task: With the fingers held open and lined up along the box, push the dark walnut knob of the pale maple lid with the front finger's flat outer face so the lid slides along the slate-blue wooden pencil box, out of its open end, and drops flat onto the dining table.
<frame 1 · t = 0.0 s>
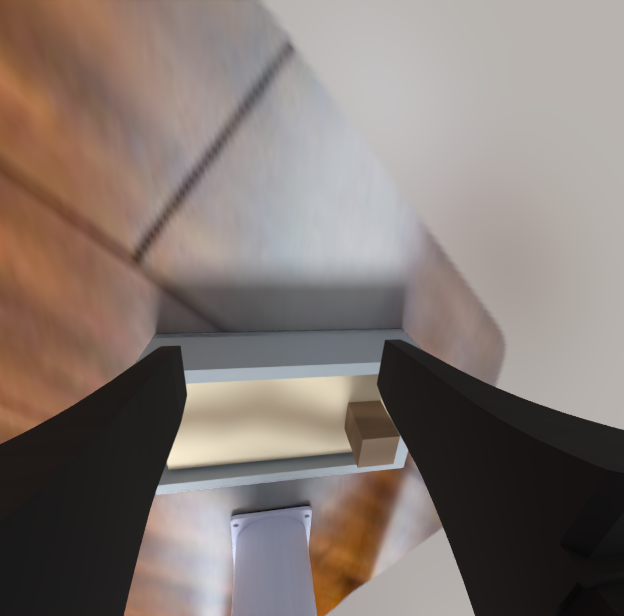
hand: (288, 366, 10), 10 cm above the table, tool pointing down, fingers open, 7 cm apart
cover plate: (285, 413, 20), point 3 cm above the table, touching box
box: (285, 386, 23), on the table
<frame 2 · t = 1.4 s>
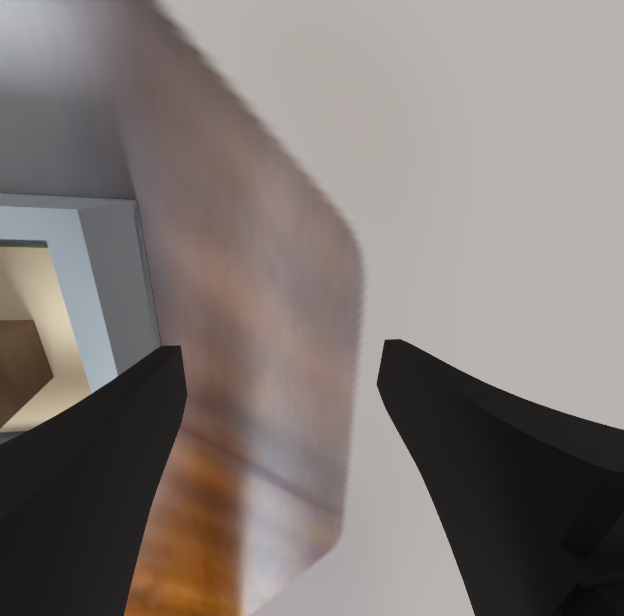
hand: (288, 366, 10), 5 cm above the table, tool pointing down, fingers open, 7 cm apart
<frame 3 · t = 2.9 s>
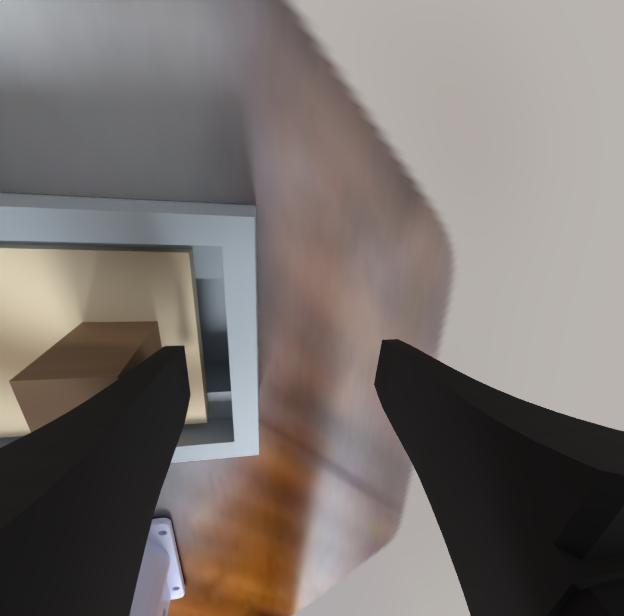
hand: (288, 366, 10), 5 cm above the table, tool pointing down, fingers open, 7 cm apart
box: (55, 311, 13), on the table
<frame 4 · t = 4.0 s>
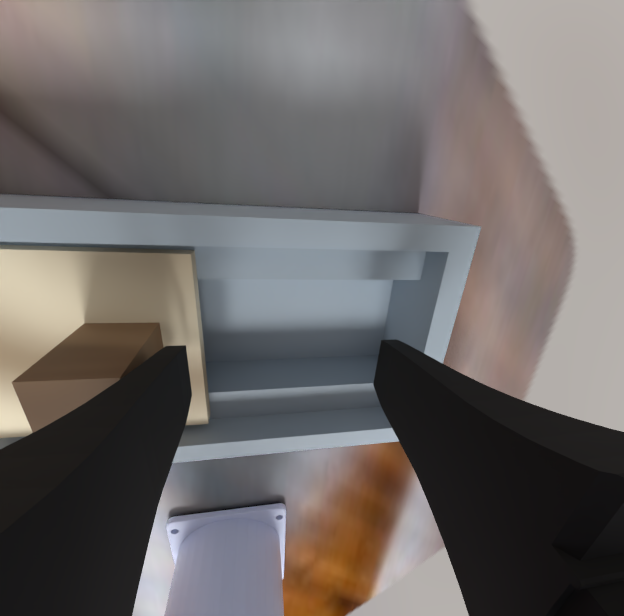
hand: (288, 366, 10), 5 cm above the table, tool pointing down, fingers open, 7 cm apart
box: (232, 310, 14), on the table
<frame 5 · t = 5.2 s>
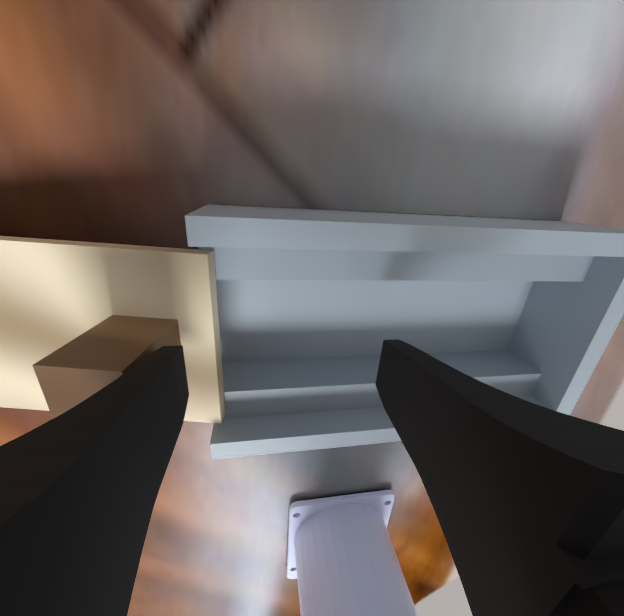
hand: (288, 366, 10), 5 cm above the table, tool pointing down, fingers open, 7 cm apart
cover plate: (23, 328, 12), point 2 cm above the table, tilted 11°
box: (387, 308, 16), on the table
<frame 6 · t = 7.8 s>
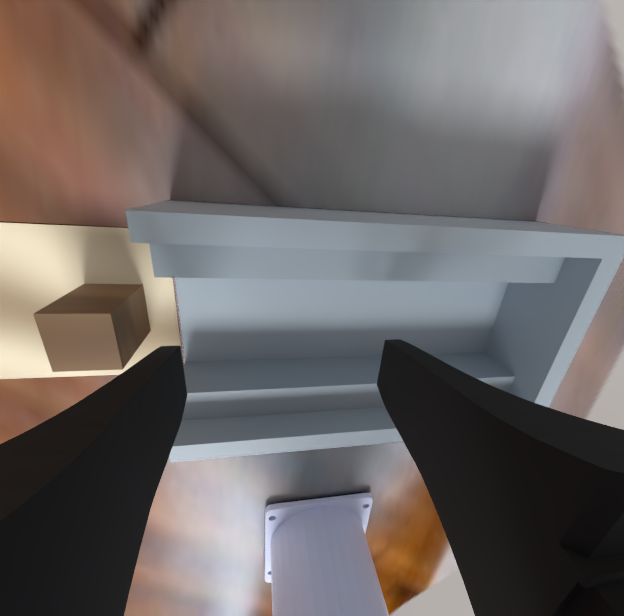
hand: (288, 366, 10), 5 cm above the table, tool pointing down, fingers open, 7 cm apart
box: (360, 309, 16), on the table
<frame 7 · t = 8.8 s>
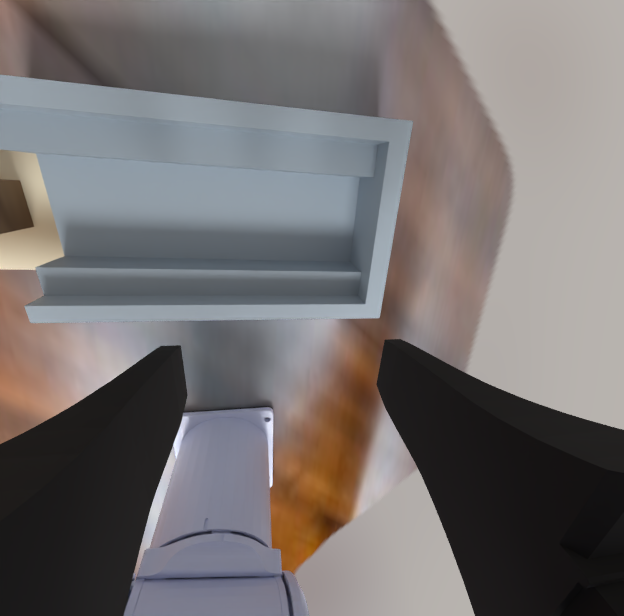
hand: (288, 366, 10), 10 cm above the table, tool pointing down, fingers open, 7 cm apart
box: (225, 214, 18), on the table
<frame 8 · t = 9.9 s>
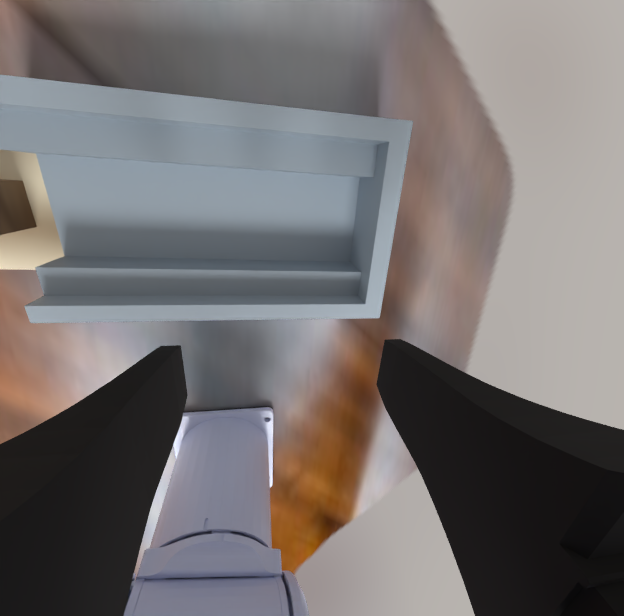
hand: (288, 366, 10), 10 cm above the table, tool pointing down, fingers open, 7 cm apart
box: (225, 214, 18), on the table
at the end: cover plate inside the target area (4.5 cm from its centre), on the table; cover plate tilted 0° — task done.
